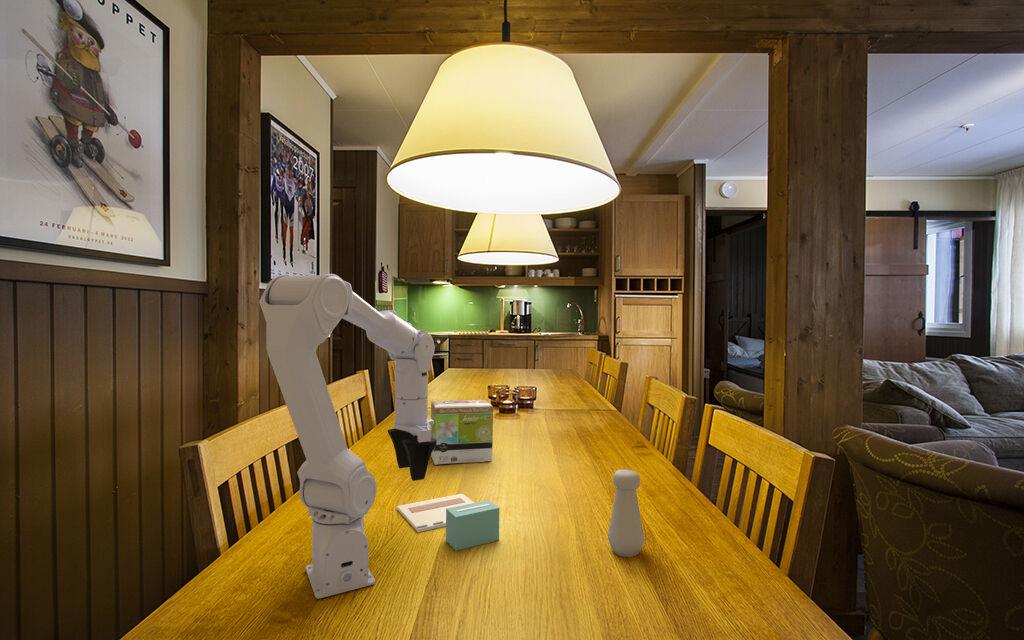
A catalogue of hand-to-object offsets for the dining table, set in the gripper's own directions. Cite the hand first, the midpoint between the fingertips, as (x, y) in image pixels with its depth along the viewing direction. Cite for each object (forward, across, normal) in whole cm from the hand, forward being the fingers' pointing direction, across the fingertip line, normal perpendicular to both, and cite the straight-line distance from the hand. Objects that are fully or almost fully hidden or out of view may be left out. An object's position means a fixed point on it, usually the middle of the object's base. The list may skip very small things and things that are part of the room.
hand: (411, 473), depth 91 cm
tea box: (+10, +35, -25) cm, 44 cm away
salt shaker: (+10, -25, -28) cm, 39 cm away
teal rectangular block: (+10, -10, -8) cm, 16 cm away
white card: (+10, +4, -7) cm, 13 cm away
